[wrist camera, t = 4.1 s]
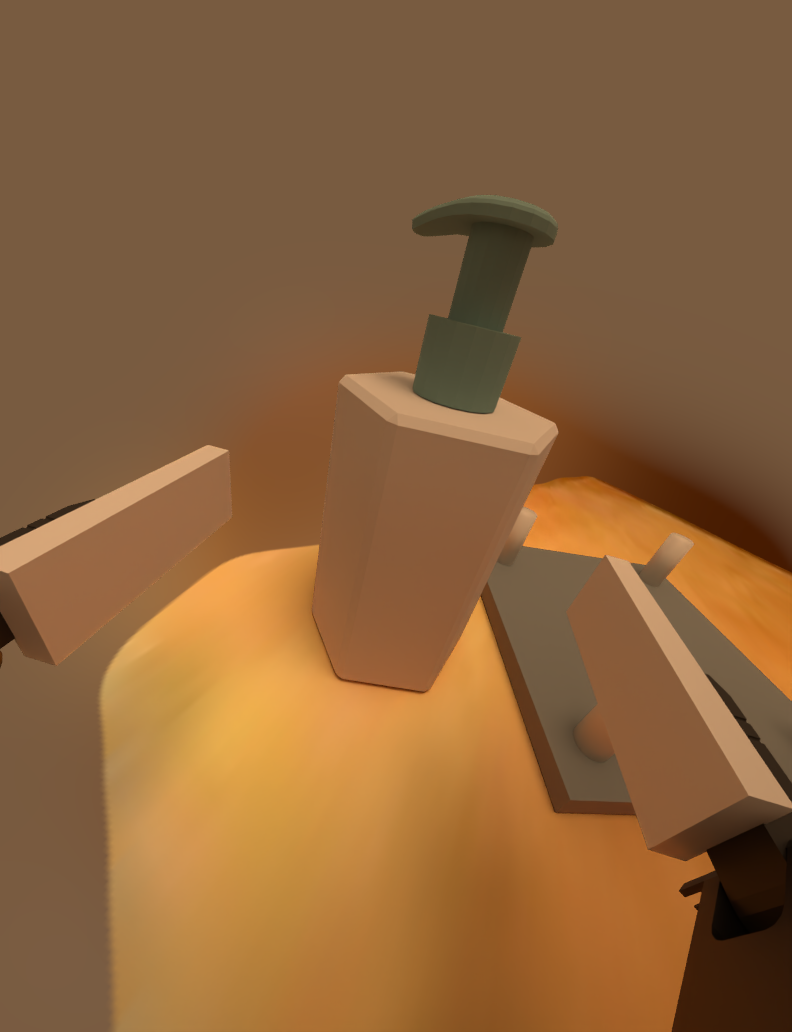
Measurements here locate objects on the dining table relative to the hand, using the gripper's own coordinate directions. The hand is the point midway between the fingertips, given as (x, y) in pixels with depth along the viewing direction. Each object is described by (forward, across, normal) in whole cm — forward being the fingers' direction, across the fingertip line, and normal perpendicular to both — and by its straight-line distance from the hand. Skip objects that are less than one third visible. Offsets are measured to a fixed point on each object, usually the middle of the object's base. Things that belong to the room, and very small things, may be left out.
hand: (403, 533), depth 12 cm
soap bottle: (+6, 0, -12) cm, 14 cm away
